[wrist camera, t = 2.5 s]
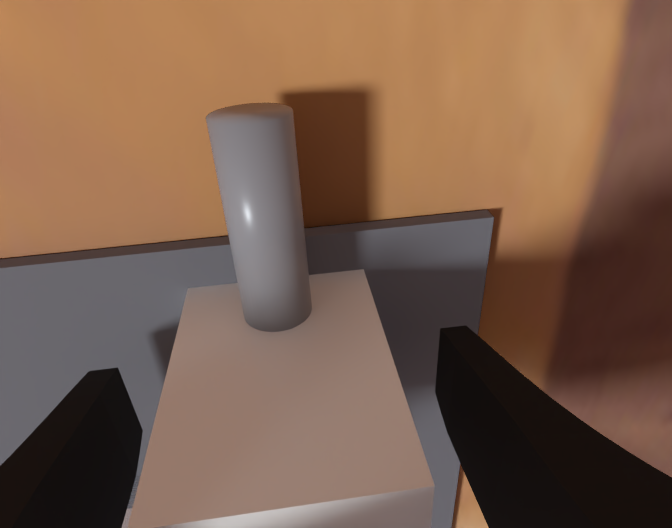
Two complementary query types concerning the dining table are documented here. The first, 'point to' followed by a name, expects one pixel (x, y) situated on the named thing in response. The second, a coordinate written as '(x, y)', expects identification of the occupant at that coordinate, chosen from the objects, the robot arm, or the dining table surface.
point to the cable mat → (217, 269)
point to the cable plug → (279, 373)
